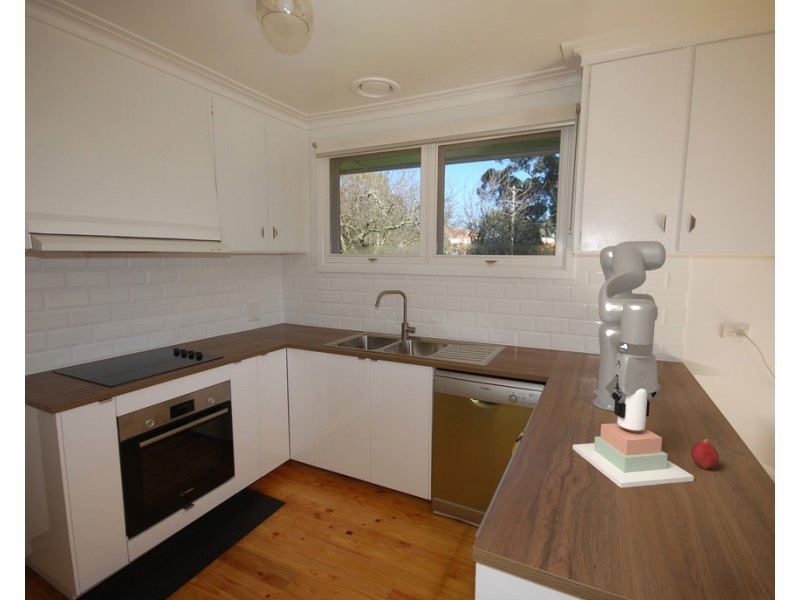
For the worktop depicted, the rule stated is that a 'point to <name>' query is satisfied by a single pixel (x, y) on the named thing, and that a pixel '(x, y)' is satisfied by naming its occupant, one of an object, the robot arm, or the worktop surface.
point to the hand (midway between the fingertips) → (631, 414)
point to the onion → (704, 454)
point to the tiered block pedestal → (631, 457)
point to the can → (634, 411)
